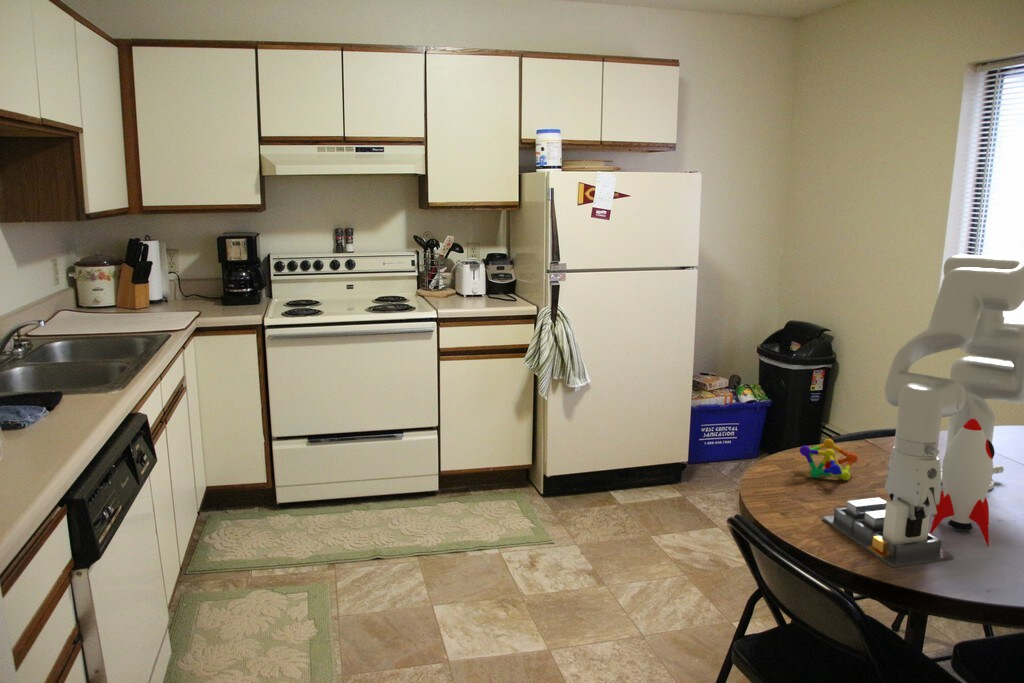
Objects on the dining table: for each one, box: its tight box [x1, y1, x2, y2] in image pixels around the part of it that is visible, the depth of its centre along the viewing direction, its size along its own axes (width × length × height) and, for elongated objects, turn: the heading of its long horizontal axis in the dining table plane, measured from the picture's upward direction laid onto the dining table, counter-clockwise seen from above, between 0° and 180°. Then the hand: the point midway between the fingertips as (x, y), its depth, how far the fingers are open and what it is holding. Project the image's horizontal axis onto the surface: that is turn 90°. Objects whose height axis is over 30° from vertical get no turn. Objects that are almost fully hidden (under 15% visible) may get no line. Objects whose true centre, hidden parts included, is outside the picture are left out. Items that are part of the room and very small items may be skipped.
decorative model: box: [799, 438, 859, 481], centre depth 192 cm, size 13×9×15 cm
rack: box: [821, 497, 954, 569], centre depth 158 cm, size 14×22×6 cm, turn 13°
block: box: [883, 499, 931, 545], centre depth 152 cm, size 8×3×8 cm, turn 103°
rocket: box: [929, 419, 995, 547], centre depth 159 cm, size 11×11×25 cm
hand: (906, 531), depth 152 cm, fingers closed on block, 2 cm apart
